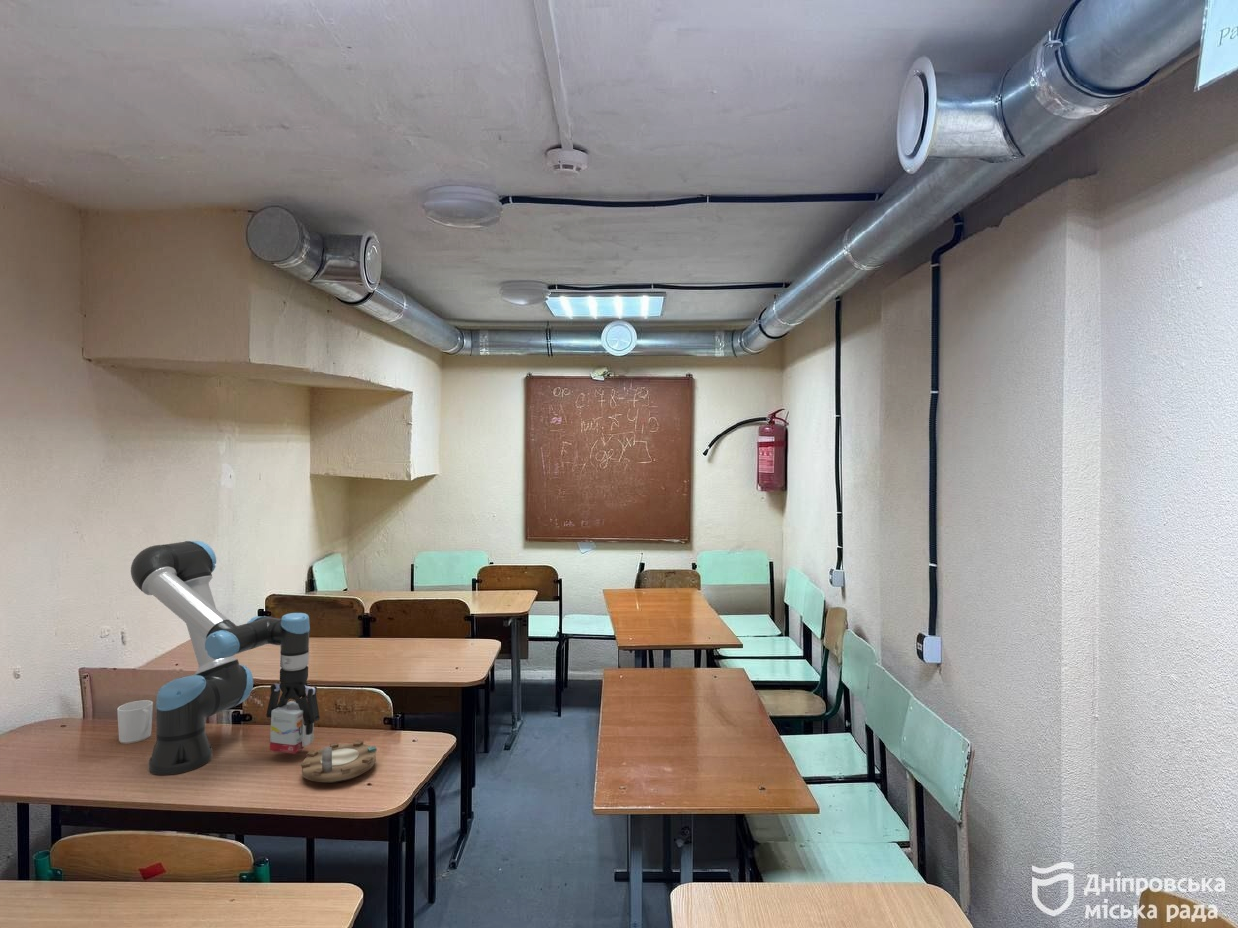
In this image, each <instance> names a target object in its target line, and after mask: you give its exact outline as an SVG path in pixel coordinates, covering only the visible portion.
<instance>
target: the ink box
mask: <svg viewBox="0 0 1238 928" xmlns="http://www.w3.org/2000/svg"><path fill="white" fill-rule="evenodd" d="M304 723H305V721H304V718H303V710H300V708H299V705H298V703H296V701H295V700H290V701H288V702H287V704H286V705H284V706H282V707H278V708H276V709H274V710H272V712H271V718H270V734H269V735H270V736H269V737H270V738H269V739H270V740H269V742H270V743H269V751H271V752H278V753H285V754H293V755H295V754H297V753H298V752H300V751H302V750H303V749H304V748H306V747H308V746H309V745H311V744H312V743H313V742H314V728H315V727H314V726H315V722H314V723H313V732H312V733H311V736H310V743H309V744H308V745H306V746H305V747H302V727H303V724H304Z"/></svg>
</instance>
